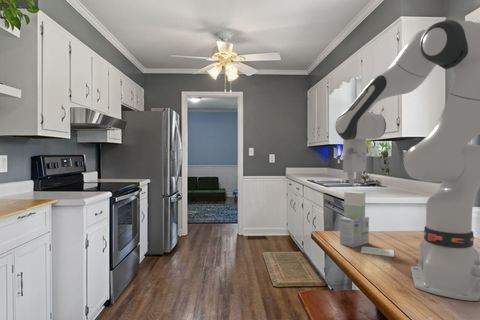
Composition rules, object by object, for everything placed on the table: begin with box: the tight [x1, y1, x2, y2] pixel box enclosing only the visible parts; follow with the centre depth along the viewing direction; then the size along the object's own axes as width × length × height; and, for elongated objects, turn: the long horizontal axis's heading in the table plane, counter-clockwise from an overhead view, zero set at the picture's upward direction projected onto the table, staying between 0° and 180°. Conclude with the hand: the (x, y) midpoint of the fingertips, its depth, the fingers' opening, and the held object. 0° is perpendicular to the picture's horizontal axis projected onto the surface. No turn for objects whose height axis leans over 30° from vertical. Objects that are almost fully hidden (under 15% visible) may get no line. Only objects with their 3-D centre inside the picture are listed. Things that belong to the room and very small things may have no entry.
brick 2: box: [343, 204, 366, 219], centre depth 126 cm, size 4×7×5 cm, turn 50°
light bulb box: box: [339, 215, 370, 249], centre depth 126 cm, size 11×7×11 cm, turn 127°
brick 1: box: [343, 190, 366, 206], centre depth 126 cm, size 4×7×5 cm, turn 53°
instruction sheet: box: [360, 245, 395, 258], centre depth 116 cm, size 8×11×1 cm
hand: (355, 183), depth 126 cm, fingers open, 8 cm apart
